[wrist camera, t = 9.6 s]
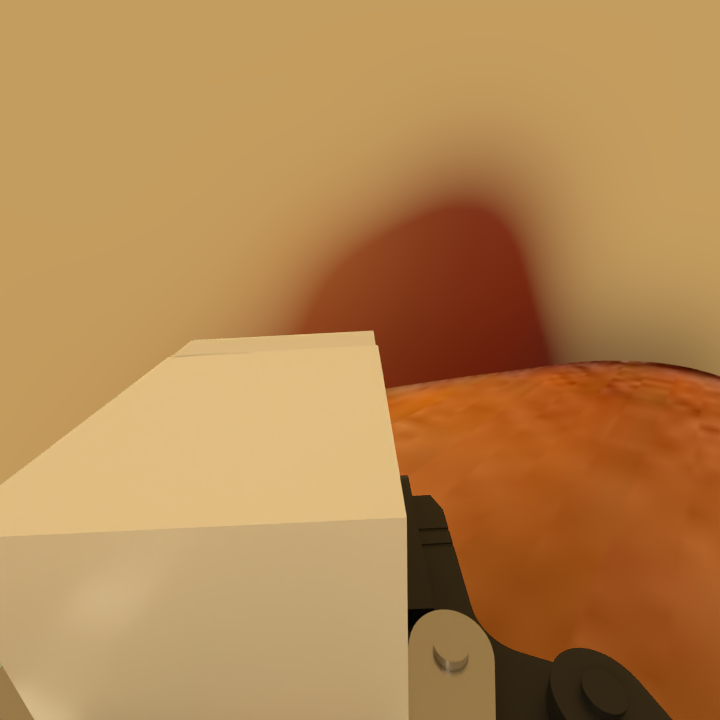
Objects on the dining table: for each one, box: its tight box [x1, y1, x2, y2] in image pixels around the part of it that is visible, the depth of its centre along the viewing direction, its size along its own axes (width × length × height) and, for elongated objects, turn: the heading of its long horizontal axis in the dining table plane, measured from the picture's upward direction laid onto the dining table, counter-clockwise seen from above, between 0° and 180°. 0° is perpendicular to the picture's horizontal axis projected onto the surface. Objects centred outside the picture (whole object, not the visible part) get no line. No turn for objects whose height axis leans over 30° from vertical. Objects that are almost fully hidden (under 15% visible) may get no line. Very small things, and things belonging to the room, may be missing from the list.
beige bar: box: [0, 331, 409, 720], centre depth 8 cm, size 4×6×11 cm
